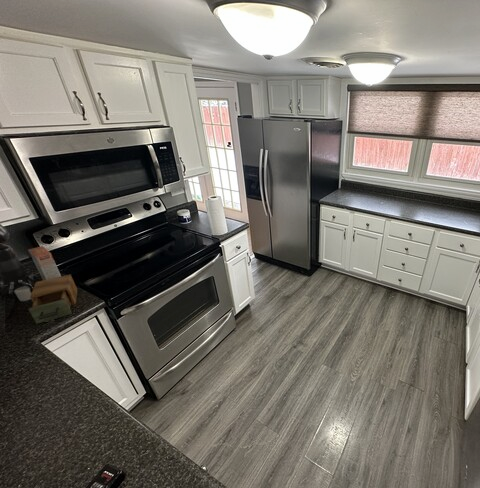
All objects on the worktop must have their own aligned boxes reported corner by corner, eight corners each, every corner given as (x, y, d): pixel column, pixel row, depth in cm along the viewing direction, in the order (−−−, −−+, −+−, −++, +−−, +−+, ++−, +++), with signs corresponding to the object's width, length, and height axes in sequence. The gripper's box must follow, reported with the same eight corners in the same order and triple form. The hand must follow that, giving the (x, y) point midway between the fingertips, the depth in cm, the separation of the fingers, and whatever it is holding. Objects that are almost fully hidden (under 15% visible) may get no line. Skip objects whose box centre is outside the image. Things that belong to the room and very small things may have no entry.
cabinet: (75, 304, 128) (67, 287, 124) (39, 314, 121) (29, 297, 117) (77, 289, 138) (70, 274, 134) (44, 298, 131) (35, 282, 127)
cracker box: (67, 287, 139) (51, 252, 130) (52, 293, 135) (34, 257, 126) (59, 279, 146) (43, 245, 137) (44, 283, 142) (26, 249, 133)
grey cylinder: (18, 302, 127) (13, 293, 125) (20, 297, 131) (15, 288, 129) (33, 298, 130) (28, 289, 128) (35, 293, 134) (30, 284, 132)
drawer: (70, 319, 117) (63, 305, 114) (34, 330, 111) (26, 316, 107) (73, 298, 130) (67, 285, 127) (41, 307, 124) (34, 293, 120)
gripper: (32, 259, 130) (47, 288, 137) (-11, 268, 122) (7, 297, 129) (30, 266, 124) (45, 295, 132) (-16, 275, 116) (2, 305, 124)
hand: (26, 296), depth 130 cm, fingers open, 5 cm apart
